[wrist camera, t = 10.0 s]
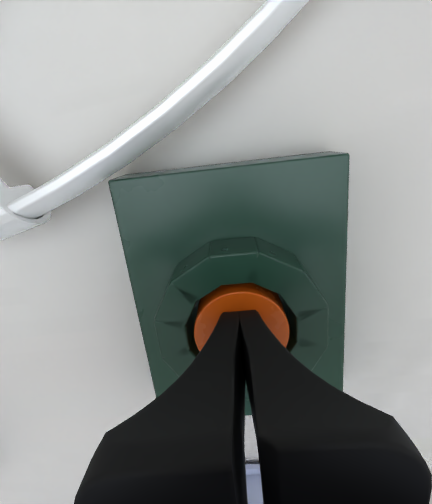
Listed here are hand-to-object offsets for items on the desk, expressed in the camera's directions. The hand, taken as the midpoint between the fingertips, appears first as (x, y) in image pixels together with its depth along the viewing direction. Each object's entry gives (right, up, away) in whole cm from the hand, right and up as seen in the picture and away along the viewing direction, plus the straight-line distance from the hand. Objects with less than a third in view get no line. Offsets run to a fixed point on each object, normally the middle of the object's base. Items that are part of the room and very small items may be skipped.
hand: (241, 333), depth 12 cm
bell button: (0, +1, +2) cm, 2 cm away
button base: (0, +1, +4) cm, 4 cm away
